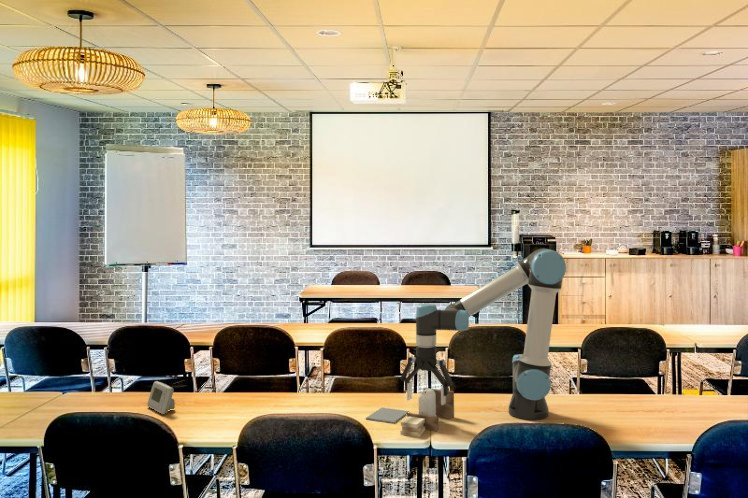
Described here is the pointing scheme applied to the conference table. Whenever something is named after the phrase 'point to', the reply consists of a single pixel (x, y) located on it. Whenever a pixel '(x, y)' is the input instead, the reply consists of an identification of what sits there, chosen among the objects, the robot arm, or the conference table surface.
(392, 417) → the slate pad
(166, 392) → the digital clock
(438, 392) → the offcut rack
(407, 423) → the offcut stack
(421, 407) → the white arched block
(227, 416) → the conference table surface
